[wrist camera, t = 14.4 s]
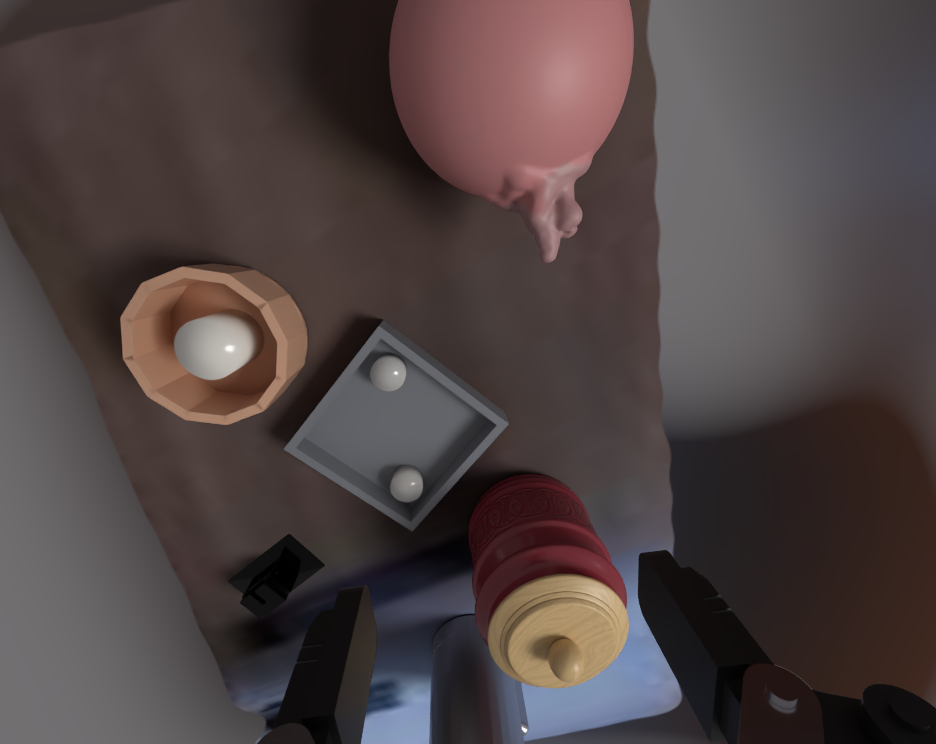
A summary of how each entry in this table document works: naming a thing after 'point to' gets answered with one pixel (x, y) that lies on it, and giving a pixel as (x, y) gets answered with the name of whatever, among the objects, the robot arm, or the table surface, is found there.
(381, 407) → the parts tray
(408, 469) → the small pebble
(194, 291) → the terracotta bowl
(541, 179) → the balloon
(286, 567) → the black bracket
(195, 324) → the pale stone
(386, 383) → the small pebble
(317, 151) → the table surface
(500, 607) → the canister
